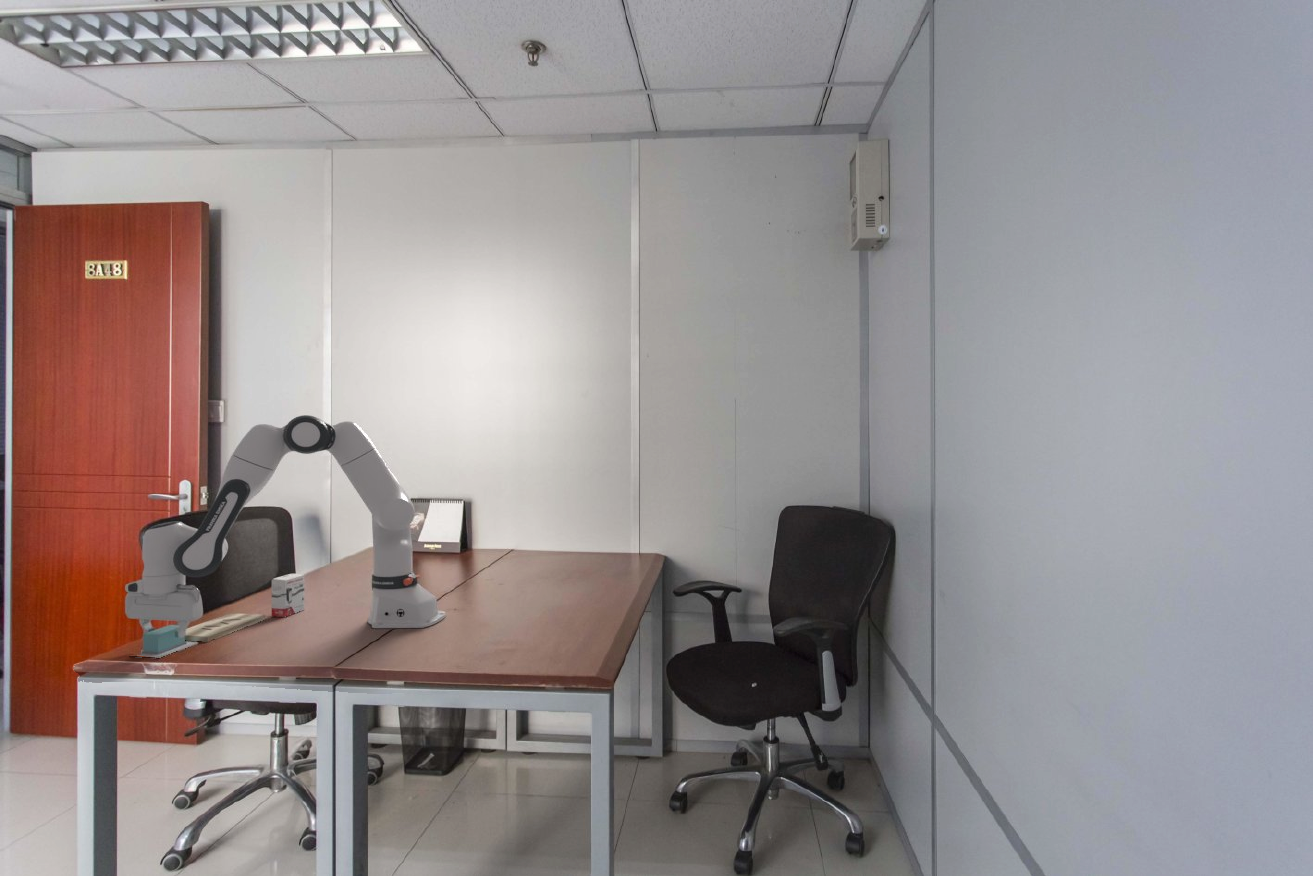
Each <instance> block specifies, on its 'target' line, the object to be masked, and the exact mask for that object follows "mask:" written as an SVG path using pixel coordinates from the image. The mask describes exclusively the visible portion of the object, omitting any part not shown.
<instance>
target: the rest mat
mask: <svg viewBox="0 0 1313 876" xmlns="http://www.w3.org/2000/svg"><path fill="white" fill-rule="evenodd" d="M185 642H186V644H185V645H182V646H180V647H177V648H174V649H172V650H169V651H167V652H164V653H162V654H159V655H156V654H152V655H151V654H150V655H149V654H147V655H146V654H141V655H137V656H146V657H155V658H154V659H156V658H160V659H162V658H161V657H163V656H165V657H167V656H166V655H168V654H170V655H172V654H171V653H173V652H176V651H178V652H181V651H183V650H185V648H186V649H188V647H189V648H191V647H193V646H196V645H198V644H199V642H197V641H185ZM141 651H143V649H142V650H141ZM176 653H177V652H176ZM173 654H174V653H173ZM168 656H169V655H168ZM163 658H164V657H163Z"/></svg>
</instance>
